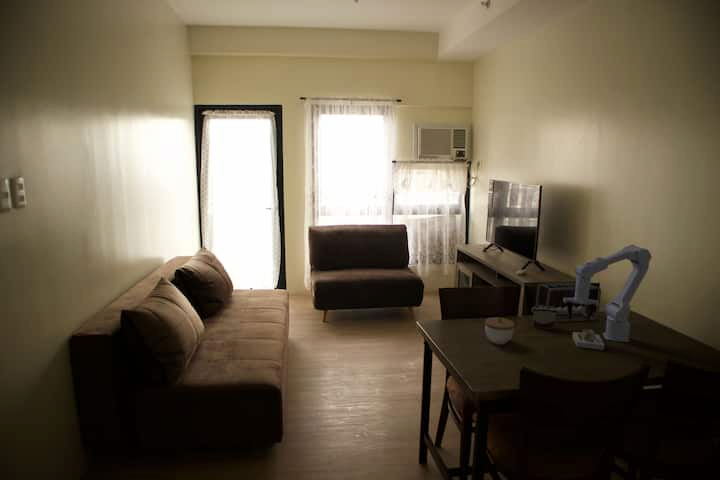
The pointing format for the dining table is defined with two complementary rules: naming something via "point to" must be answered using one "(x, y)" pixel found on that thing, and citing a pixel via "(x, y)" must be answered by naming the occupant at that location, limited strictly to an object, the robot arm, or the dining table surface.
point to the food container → (544, 316)
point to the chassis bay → (596, 344)
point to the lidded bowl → (499, 330)
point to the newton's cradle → (574, 310)
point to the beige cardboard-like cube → (588, 336)
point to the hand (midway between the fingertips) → (578, 318)
